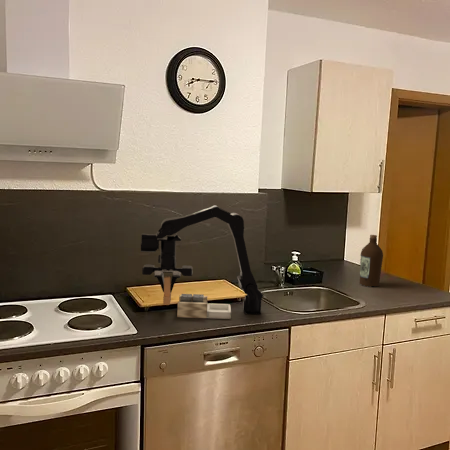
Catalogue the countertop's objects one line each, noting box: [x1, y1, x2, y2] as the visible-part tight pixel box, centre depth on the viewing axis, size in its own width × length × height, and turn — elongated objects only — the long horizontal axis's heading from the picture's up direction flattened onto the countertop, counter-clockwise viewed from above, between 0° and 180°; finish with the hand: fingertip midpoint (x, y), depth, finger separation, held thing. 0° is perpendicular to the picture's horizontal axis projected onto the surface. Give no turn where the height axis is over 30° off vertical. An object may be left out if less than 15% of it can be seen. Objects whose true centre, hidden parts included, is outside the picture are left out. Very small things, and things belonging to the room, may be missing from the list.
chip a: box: [192, 293, 205, 303], centre depth 184 cm, size 4×4×4 cm
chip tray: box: [206, 302, 232, 320], centre depth 185 cm, size 9×10×2 cm
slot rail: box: [176, 294, 209, 319], centre depth 184 cm, size 11×10×6 cm
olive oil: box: [359, 234, 384, 287], centre depth 236 cm, size 11×11×25 cm
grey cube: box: [181, 293, 193, 302], centre depth 184 cm, size 4×4×4 cm
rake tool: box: [162, 275, 172, 306], centre depth 183 cm, size 2×6×10 cm, turn 1°
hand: (167, 292), depth 183 cm, fingers closed on rake tool, 2 cm apart
